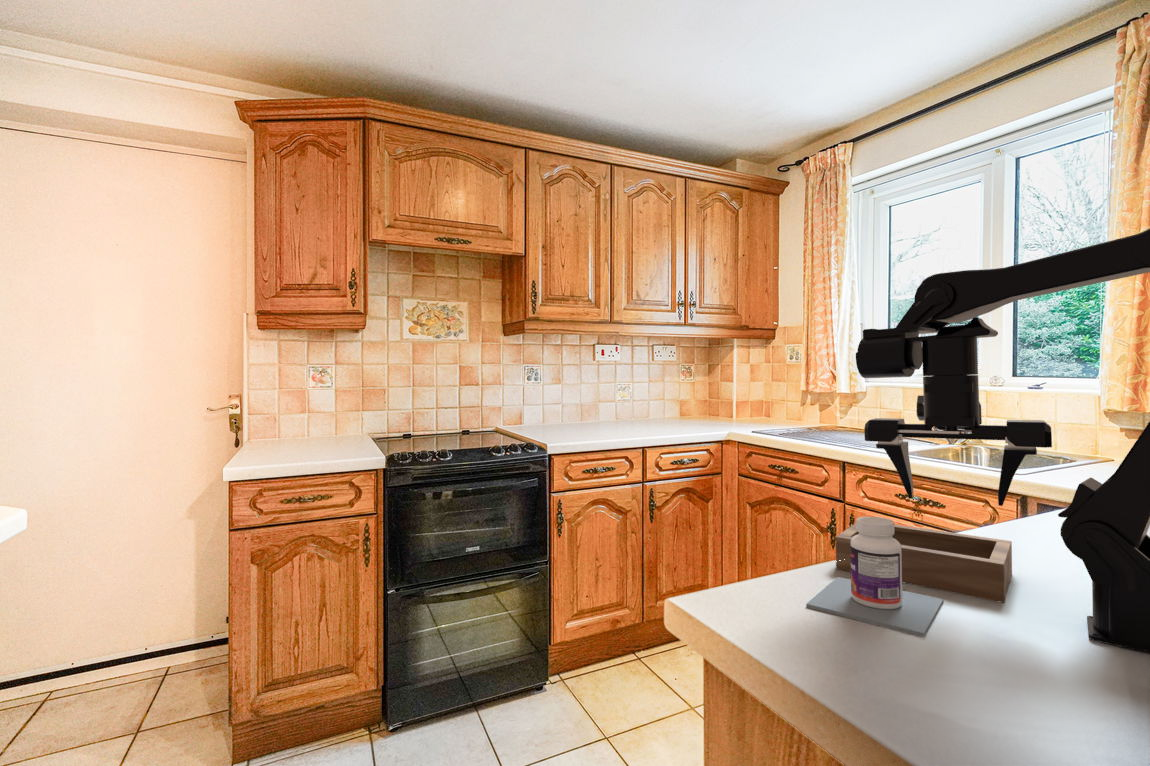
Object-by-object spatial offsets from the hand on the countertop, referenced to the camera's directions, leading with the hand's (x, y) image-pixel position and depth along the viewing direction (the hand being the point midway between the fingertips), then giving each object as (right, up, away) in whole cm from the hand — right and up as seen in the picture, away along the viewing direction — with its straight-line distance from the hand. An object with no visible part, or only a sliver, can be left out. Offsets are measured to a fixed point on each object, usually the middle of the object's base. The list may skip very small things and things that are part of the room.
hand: (953, 501), depth 68 cm
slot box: (+2, -12, +9) cm, 15 cm away
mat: (-11, -12, -3) cm, 17 cm away
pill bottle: (-11, -12, -3) cm, 16 cm away
